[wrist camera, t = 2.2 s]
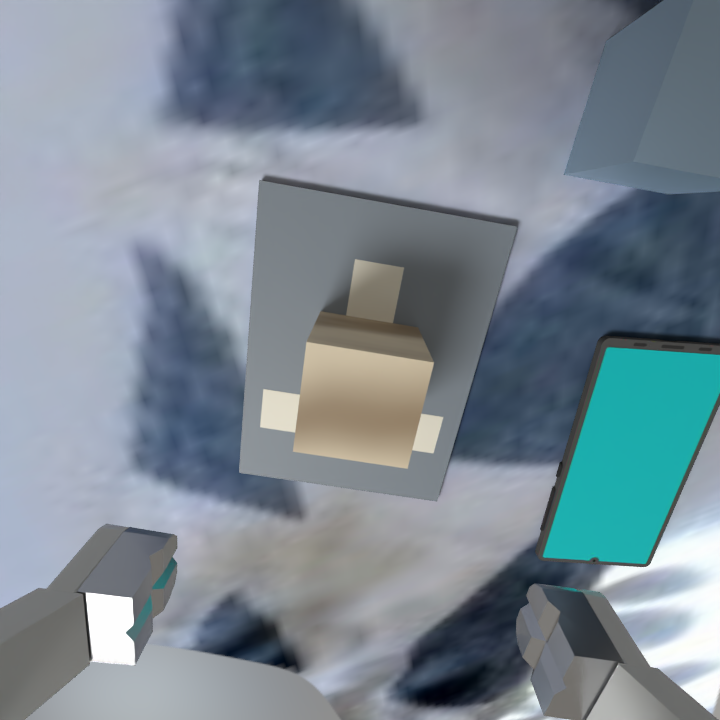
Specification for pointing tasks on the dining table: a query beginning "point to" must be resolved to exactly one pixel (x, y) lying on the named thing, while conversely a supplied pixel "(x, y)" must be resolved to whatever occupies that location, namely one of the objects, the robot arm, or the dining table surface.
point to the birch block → (362, 390)
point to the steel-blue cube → (656, 104)
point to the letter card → (370, 301)
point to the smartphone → (630, 450)
